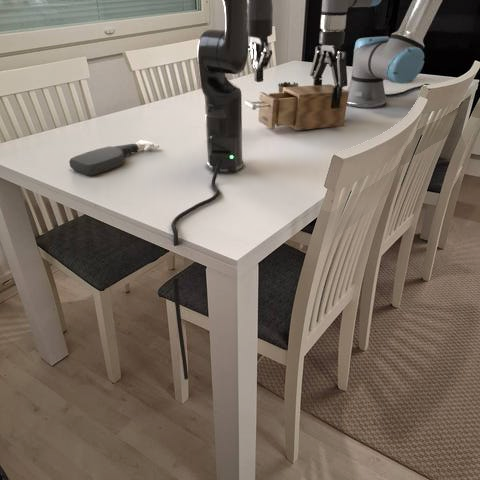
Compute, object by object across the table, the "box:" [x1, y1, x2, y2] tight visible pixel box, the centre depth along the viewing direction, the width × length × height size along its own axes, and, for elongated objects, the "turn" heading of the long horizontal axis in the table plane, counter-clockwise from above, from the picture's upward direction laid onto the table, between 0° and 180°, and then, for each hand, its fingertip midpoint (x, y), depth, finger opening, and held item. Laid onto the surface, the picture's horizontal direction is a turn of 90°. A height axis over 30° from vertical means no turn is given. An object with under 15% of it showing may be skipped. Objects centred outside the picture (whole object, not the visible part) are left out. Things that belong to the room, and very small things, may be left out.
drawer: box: [244, 91, 298, 130], centre depth 141 cm, size 23×9×9 cm, turn 113°
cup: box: [277, 81, 300, 93], centre depth 166 cm, size 8×7×8 cm
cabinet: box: [283, 83, 349, 131], centre depth 145 cm, size 18×11×11 cm, turn 113°
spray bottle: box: [68, 139, 160, 177], centre depth 124 cm, size 3×11×24 cm
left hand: (258, 81), depth 134 cm, fingers closed
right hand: (325, 103), depth 147 cm, fingers closed on cabinet, 11 cm apart
